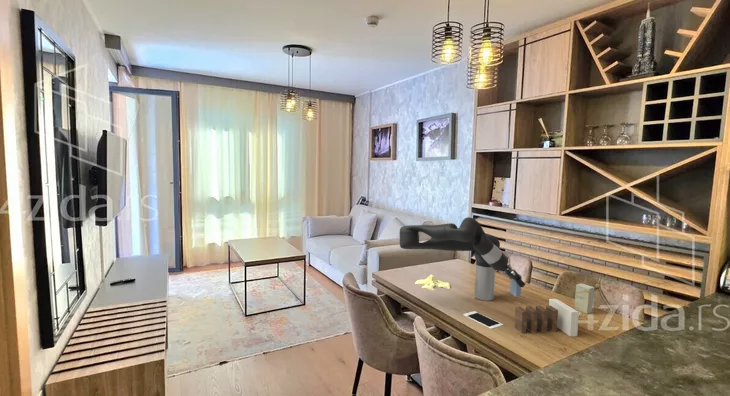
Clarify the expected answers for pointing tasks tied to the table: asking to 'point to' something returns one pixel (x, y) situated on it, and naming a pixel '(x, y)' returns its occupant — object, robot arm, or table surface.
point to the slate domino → (515, 288)
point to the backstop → (566, 317)
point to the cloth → (432, 283)
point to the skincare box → (584, 298)
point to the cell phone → (483, 319)
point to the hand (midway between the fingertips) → (519, 283)
